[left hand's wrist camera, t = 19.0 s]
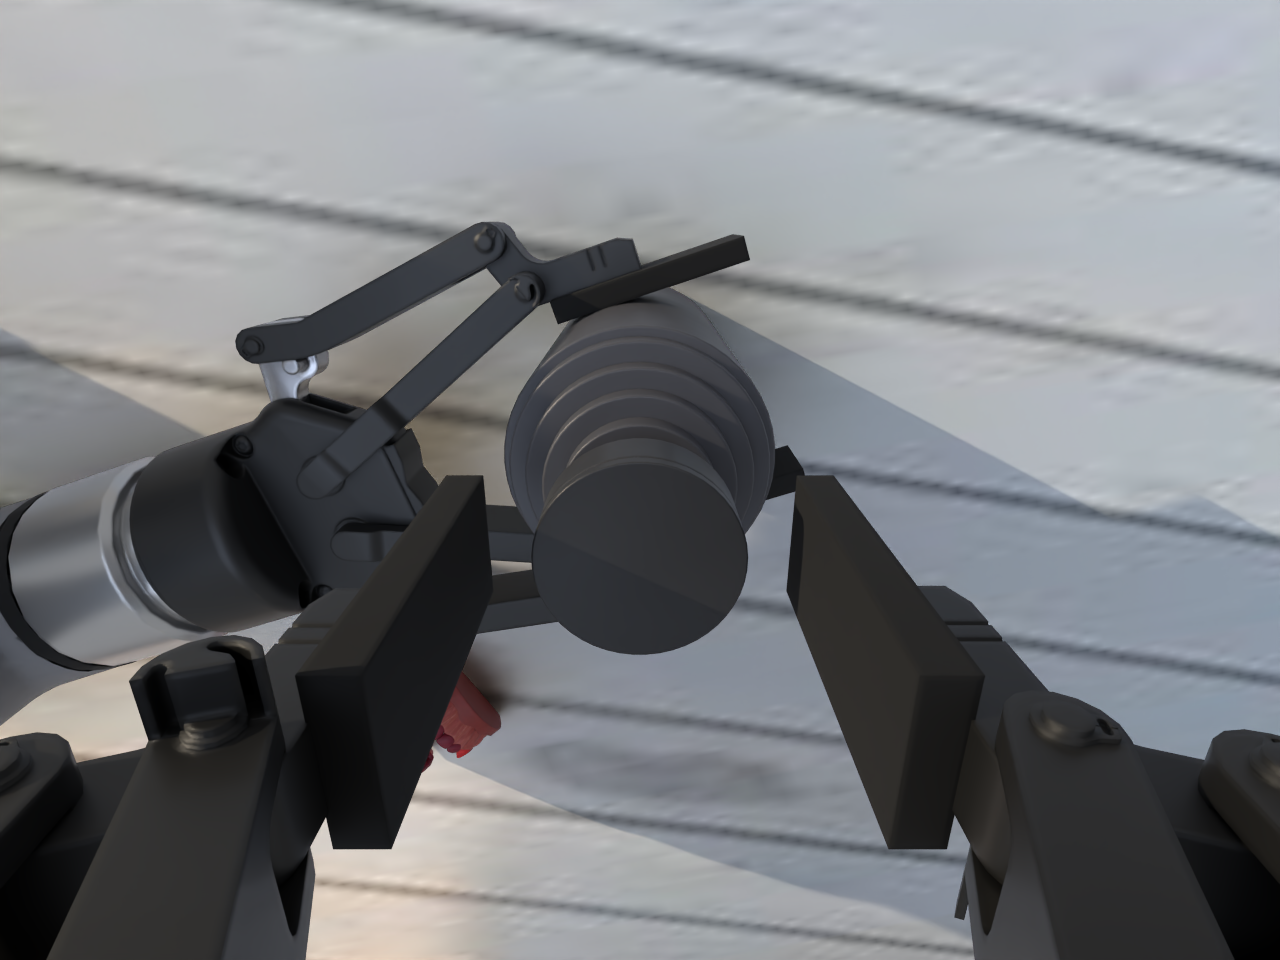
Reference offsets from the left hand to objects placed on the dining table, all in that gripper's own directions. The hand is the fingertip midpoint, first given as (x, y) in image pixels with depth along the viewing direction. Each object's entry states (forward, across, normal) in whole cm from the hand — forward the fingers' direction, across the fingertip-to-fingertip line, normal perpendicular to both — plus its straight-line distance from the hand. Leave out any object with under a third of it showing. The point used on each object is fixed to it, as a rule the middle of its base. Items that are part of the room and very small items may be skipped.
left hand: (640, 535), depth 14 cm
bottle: (+18, 0, 0) cm, 18 cm away
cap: (-1, 0, 0) cm, 1 cm away
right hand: (+11, -5, -2) cm, 12 cm away
